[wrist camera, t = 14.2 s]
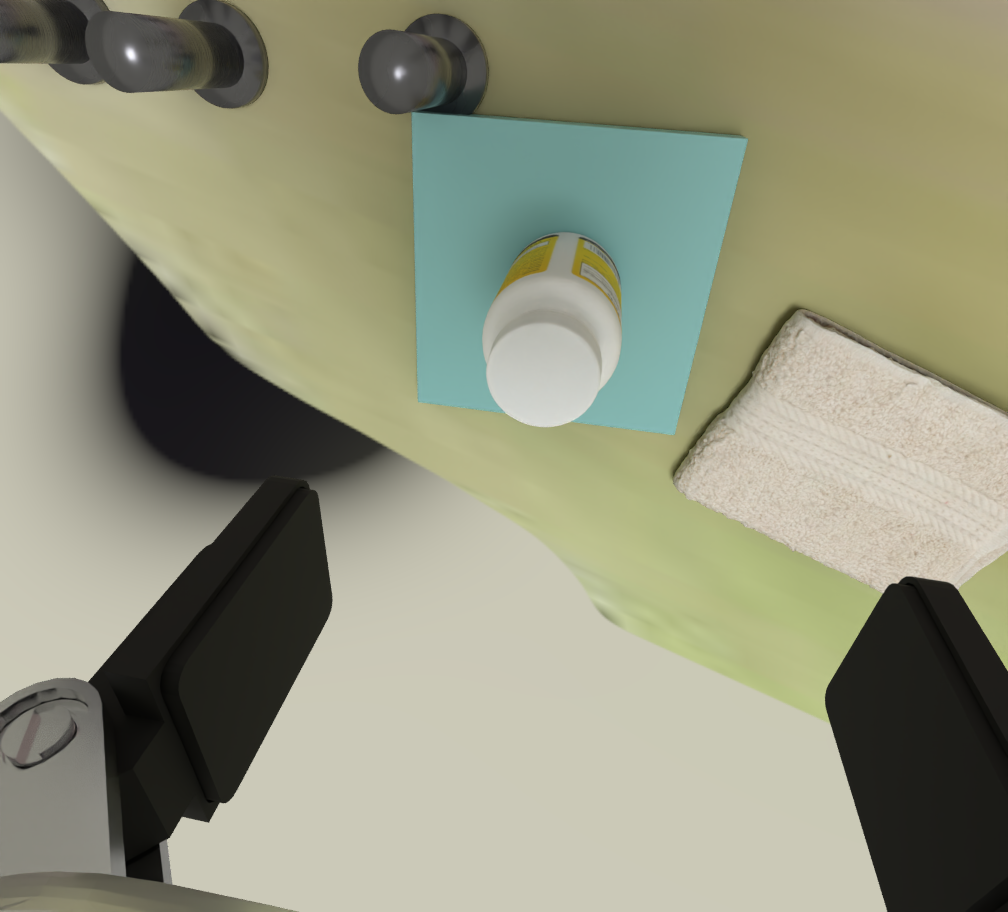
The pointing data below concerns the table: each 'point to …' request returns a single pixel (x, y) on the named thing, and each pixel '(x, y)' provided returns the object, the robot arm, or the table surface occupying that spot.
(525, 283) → the supplement bottle
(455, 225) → the teal pad
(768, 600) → the table surface
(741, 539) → the table surface
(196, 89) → the spacer field
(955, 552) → the washcloth
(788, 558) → the table surface
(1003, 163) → the table surface
